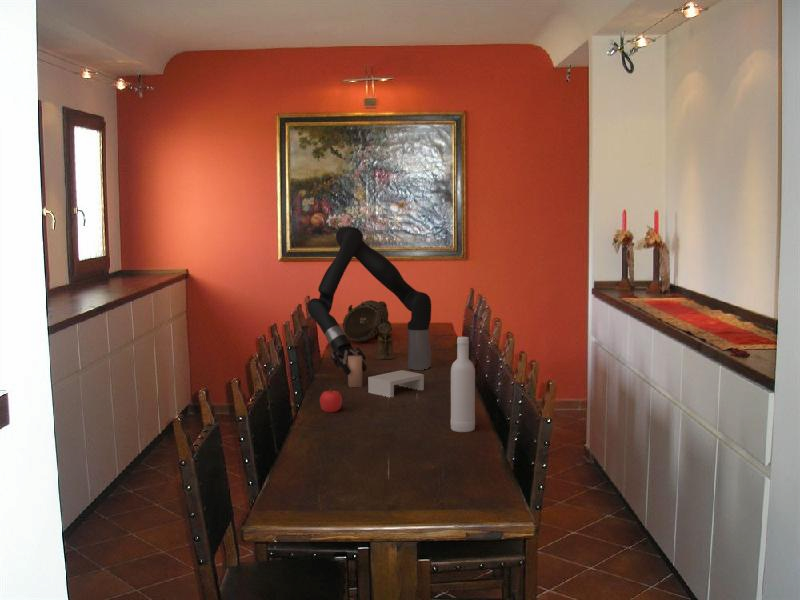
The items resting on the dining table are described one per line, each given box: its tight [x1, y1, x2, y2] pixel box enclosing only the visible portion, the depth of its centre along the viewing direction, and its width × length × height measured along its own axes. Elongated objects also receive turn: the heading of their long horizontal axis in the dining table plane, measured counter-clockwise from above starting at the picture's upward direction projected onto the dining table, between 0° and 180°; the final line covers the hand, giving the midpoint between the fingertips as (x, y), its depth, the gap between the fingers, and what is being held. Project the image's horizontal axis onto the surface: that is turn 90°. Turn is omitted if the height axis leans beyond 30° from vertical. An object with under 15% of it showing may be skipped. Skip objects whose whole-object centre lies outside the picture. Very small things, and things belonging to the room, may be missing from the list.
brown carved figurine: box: [374, 322, 396, 361], centre depth 405 cm, size 9×14×18 cm, turn 0°
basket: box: [342, 300, 393, 342], centre depth 459 cm, size 24×22×35 cm
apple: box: [319, 388, 343, 413], centre depth 312 cm, size 8×8×8 cm
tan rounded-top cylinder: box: [347, 355, 363, 389], centre depth 350 cm, size 6×6×12 cm
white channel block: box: [367, 369, 425, 398], centre depth 342 cm, size 18×12×6 cm, turn 135°
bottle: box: [450, 336, 476, 433], centre depth 286 cm, size 8×8×30 cm
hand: (357, 371), depth 349 cm, fingers open, 8 cm apart
